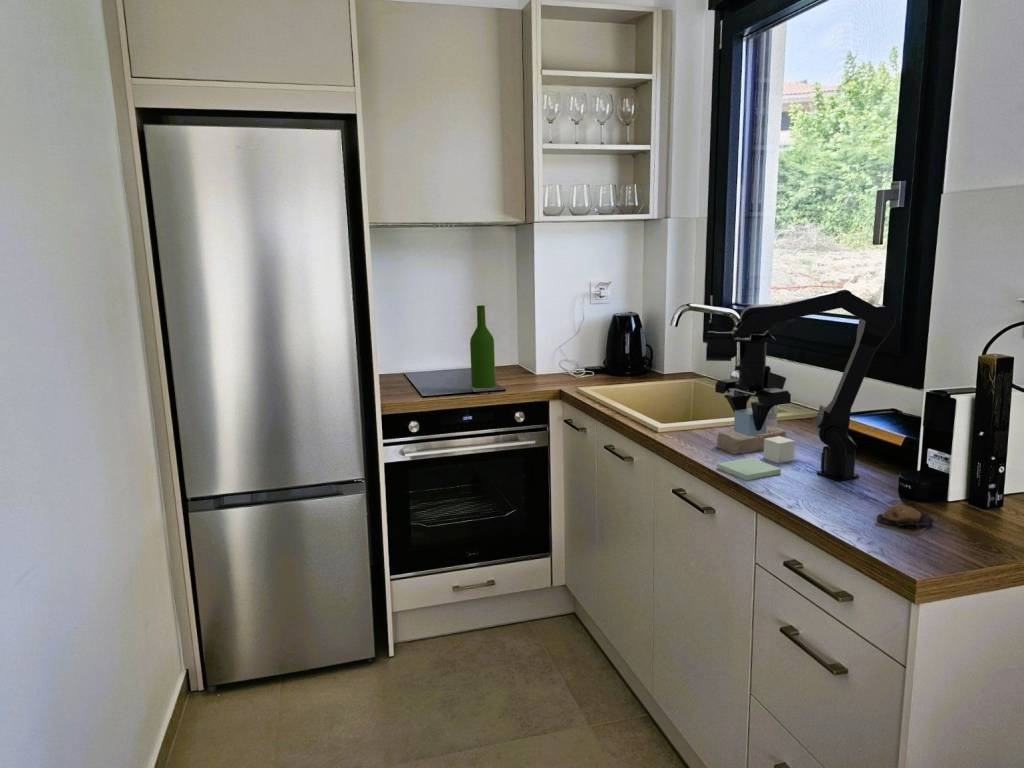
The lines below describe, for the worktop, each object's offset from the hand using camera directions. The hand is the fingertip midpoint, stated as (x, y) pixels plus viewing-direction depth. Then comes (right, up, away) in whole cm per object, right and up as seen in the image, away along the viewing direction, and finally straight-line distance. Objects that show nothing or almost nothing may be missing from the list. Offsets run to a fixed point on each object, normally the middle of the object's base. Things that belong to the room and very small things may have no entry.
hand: (750, 428), depth 163 cm
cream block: (+11, -8, +11) cm, 17 cm away
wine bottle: (-66, +7, +102) cm, 122 cm away
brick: (+8, -7, +22) cm, 24 cm away
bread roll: (+19, -17, -30) cm, 39 cm away
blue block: (0, -1, 0) cm, 1 cm away
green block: (0, -10, +2) cm, 10 cm away
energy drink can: (+17, -3, +38) cm, 42 cm away
